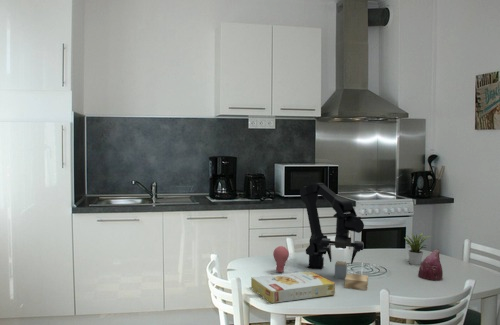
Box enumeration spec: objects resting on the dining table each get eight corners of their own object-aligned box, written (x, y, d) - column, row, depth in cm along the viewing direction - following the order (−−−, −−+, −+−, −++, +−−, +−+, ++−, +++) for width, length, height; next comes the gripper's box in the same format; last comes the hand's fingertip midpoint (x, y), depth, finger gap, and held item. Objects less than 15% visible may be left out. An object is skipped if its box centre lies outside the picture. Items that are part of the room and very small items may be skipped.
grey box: (334, 277, 215) (335, 263, 215) (335, 274, 220) (336, 260, 220) (345, 279, 214) (346, 264, 214) (346, 276, 219) (347, 261, 219)
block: (344, 288, 202) (344, 279, 201) (346, 282, 210) (347, 273, 210) (366, 291, 199) (367, 281, 199) (367, 284, 208) (368, 275, 207)
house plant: (429, 260, 250) (431, 229, 249) (435, 268, 236) (436, 235, 235) (401, 258, 253) (402, 227, 252) (404, 265, 239) (406, 233, 238)
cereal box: (336, 282, 191) (272, 289, 180) (335, 296, 191) (272, 304, 180) (309, 269, 210) (250, 275, 198) (309, 282, 210) (249, 289, 198)
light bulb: (290, 271, 223) (291, 245, 223) (284, 275, 217) (285, 249, 216) (276, 269, 226) (276, 243, 226) (270, 273, 220) (271, 247, 219)
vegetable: (439, 282, 223) (450, 251, 223) (441, 286, 214) (451, 254, 213) (416, 274, 227) (426, 244, 227) (417, 277, 217) (427, 245, 217)
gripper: (319, 230, 211) (317, 265, 212) (363, 233, 206) (361, 269, 207) (322, 225, 221) (321, 259, 222) (364, 229, 216) (362, 263, 217)
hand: (341, 262), depth 217 cm, fingers open, 9 cm apart
